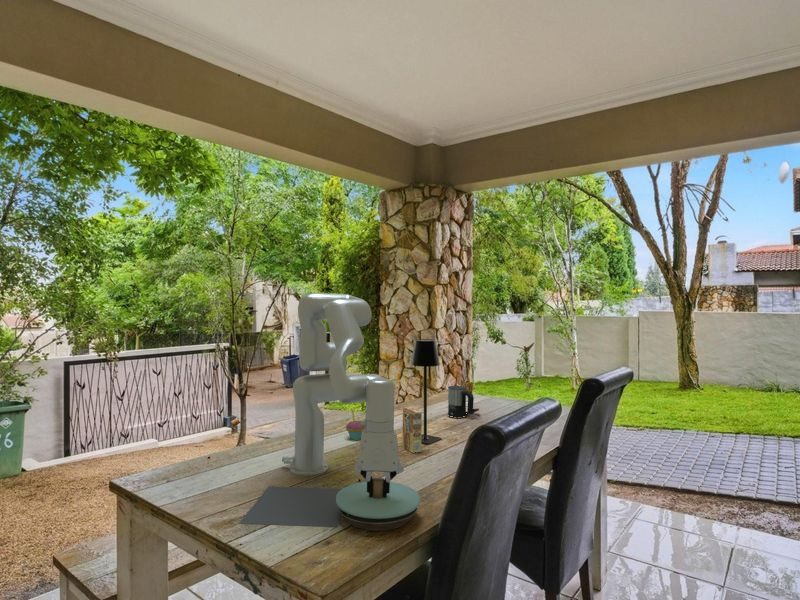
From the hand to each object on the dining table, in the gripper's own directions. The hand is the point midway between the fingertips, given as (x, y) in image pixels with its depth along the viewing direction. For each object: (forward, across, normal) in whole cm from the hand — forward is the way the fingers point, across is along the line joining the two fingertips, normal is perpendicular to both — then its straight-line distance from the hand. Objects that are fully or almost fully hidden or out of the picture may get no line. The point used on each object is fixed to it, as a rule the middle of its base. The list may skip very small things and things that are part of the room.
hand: (378, 494), depth 130 cm
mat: (+6, -22, +5) cm, 23 cm away
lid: (+1, 0, 0) cm, 1 cm away
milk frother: (+6, +33, +119) cm, 124 cm away
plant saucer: (+6, 0, 0) cm, 6 cm away
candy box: (+6, +8, +60) cm, 61 cm away
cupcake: (+6, -15, +73) cm, 75 cm away
